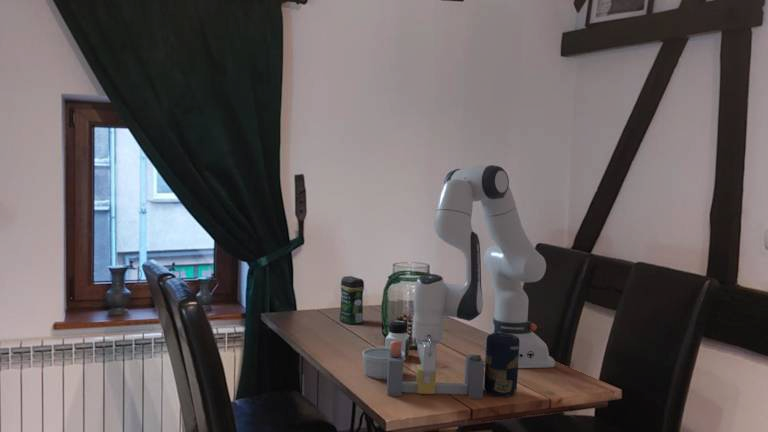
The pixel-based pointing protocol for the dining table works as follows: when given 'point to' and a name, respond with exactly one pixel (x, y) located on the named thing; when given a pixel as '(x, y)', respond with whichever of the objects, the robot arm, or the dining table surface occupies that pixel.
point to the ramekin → (377, 362)
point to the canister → (501, 364)
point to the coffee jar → (351, 300)
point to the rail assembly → (470, 387)
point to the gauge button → (395, 348)
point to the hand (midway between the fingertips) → (425, 378)
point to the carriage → (425, 387)
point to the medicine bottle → (398, 336)
